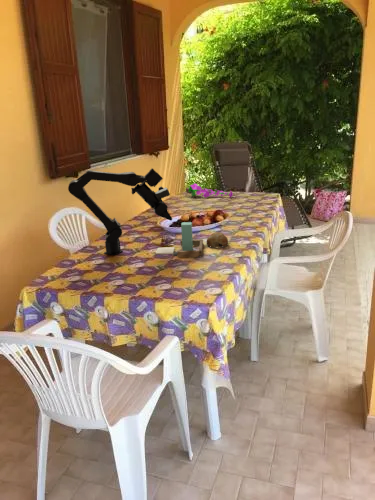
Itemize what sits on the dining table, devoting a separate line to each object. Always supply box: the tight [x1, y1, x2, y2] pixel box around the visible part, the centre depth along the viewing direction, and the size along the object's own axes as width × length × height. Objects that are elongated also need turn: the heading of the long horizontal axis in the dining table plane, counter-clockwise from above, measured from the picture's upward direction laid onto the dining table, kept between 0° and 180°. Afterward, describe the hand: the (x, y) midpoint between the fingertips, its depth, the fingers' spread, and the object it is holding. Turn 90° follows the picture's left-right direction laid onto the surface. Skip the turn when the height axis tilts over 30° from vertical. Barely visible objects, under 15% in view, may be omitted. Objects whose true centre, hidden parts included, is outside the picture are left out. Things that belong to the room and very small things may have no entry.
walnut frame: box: [176, 239, 204, 258], centre depth 198 cm, size 11×17×2 cm, turn 176°
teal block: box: [180, 221, 194, 251], centre depth 197 cm, size 4×4×13 cm
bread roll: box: [206, 231, 229, 248], centre depth 204 cm, size 10×10×8 cm
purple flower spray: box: [185, 182, 234, 199], centre depth 312 cm, size 12×16×35 cm
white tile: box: [155, 246, 176, 255], centre depth 200 cm, size 8×8×1 cm
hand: (169, 217), depth 203 cm, fingers open, 9 cm apart
